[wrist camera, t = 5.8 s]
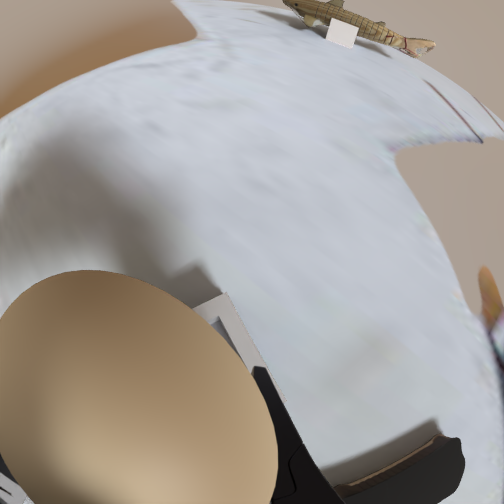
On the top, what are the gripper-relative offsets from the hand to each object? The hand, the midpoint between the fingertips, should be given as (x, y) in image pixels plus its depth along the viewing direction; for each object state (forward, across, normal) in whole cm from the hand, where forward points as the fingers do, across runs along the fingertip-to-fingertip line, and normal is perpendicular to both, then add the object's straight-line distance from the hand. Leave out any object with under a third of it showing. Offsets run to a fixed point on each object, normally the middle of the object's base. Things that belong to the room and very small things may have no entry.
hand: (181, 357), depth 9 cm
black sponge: (0, -20, +18) cm, 27 cm away
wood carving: (+54, -14, -36) cm, 66 cm away
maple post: (+3, 0, +5) cm, 6 cm away
